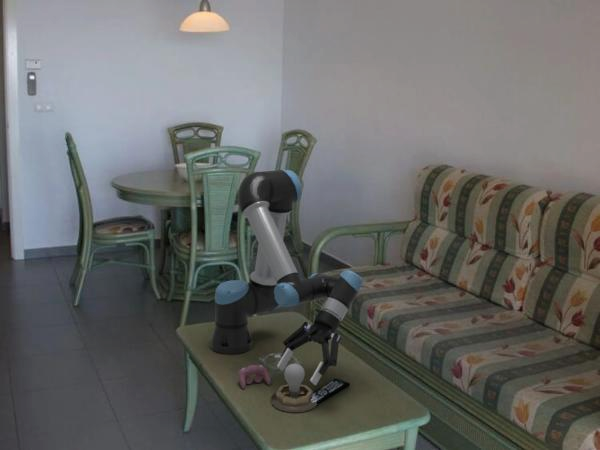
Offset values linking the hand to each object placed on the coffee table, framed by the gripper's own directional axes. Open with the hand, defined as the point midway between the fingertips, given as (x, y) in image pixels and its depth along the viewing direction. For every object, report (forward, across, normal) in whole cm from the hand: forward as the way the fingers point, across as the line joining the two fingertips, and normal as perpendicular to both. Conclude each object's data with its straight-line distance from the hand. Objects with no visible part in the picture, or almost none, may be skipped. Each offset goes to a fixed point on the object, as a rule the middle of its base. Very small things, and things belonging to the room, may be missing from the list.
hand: (295, 375), depth 206 cm
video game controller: (+7, +18, -6) cm, 20 cm away
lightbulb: (+6, 0, -6) cm, 8 cm away
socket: (+6, 0, -6) cm, 9 cm away
